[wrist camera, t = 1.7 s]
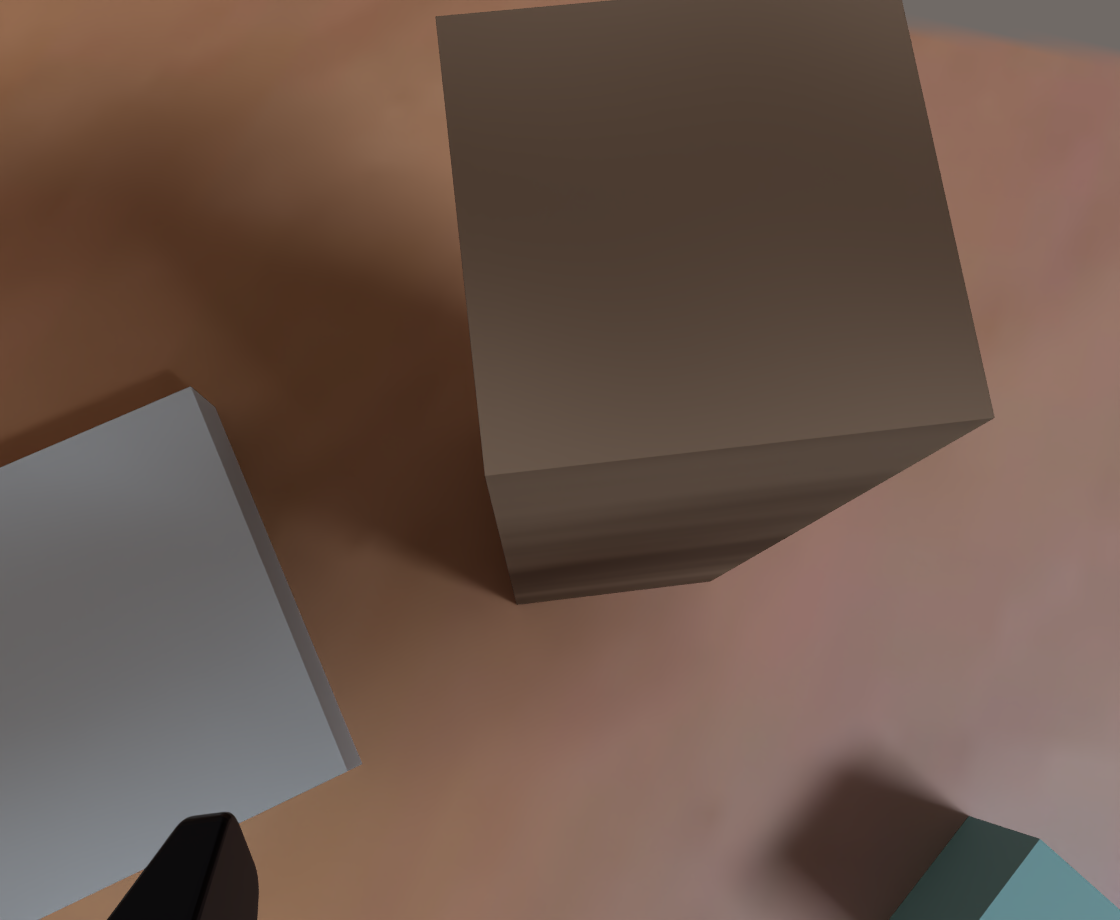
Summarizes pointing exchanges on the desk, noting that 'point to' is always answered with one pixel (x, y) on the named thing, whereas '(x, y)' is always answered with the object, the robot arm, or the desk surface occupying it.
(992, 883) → the teal brick
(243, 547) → the grey slab
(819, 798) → the desk surface
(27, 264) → the desk surface
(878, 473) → the walnut block
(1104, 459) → the desk surface
